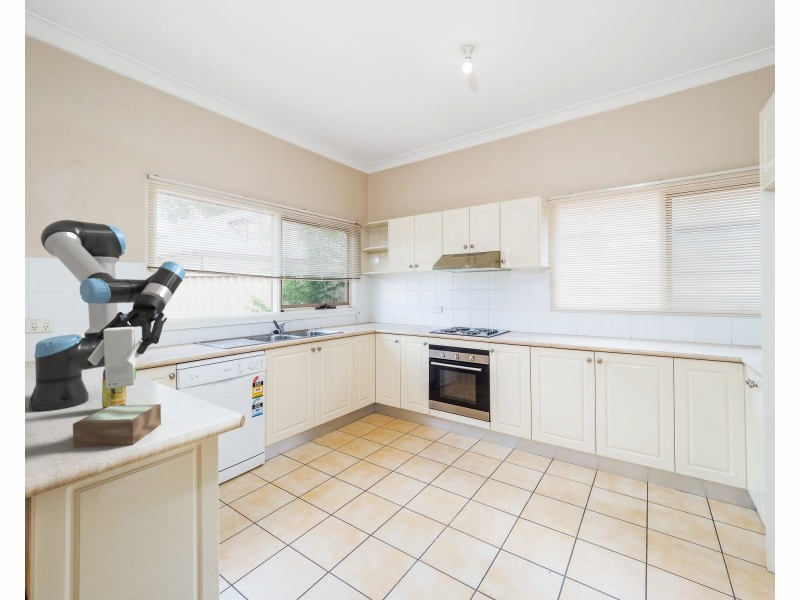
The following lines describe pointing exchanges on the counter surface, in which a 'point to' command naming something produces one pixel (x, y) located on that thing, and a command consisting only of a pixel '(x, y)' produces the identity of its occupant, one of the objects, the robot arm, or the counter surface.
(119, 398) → the sauce bottle
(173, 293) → the robot arm
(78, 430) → the riser
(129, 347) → the skincare box
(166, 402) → the counter surface
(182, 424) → the counter surface
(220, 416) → the counter surface
